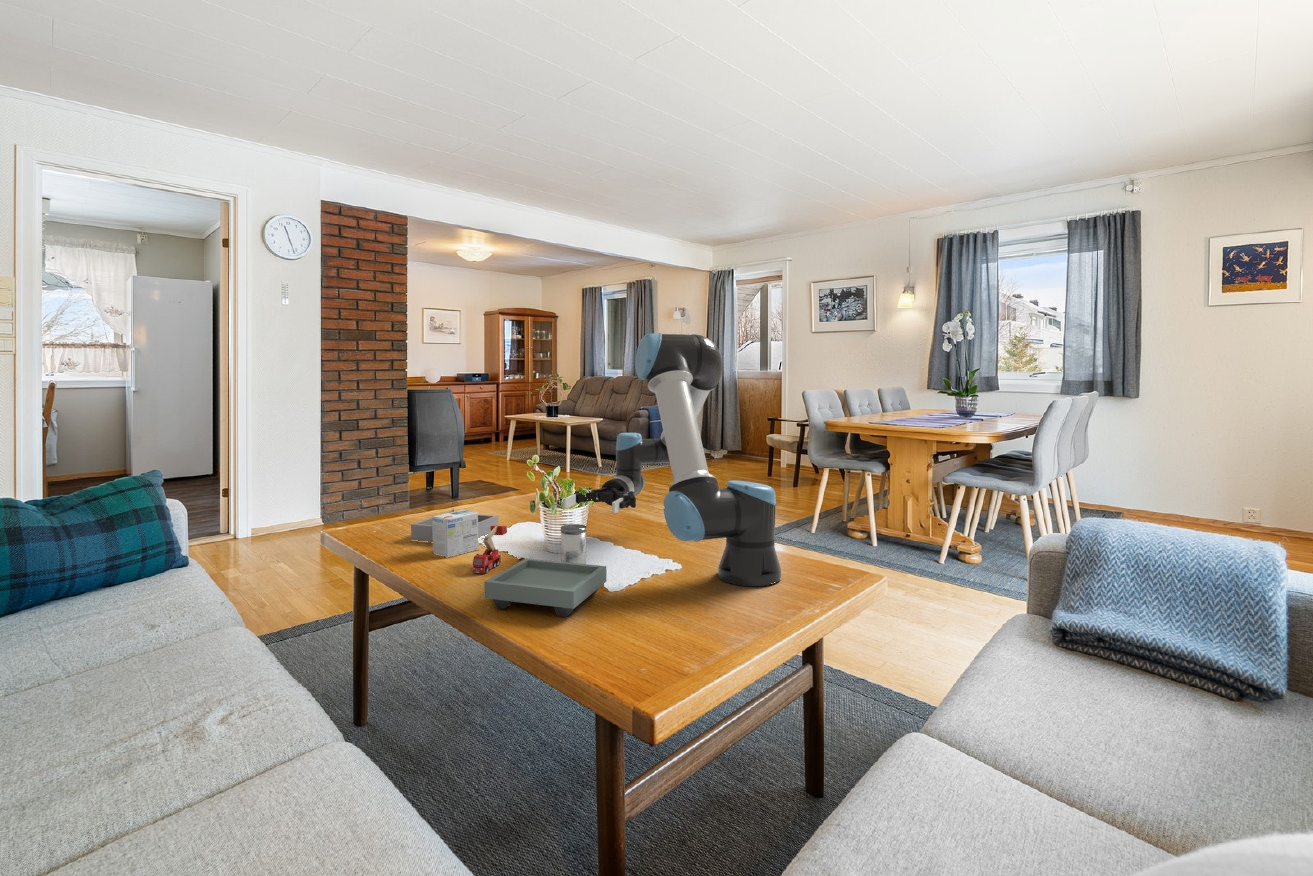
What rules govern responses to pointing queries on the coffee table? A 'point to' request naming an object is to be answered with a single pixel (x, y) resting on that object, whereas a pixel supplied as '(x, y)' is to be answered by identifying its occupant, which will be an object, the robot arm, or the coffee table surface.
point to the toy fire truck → (489, 552)
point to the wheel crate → (424, 528)
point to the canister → (573, 543)
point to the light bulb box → (455, 533)
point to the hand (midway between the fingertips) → (588, 506)
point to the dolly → (545, 584)
